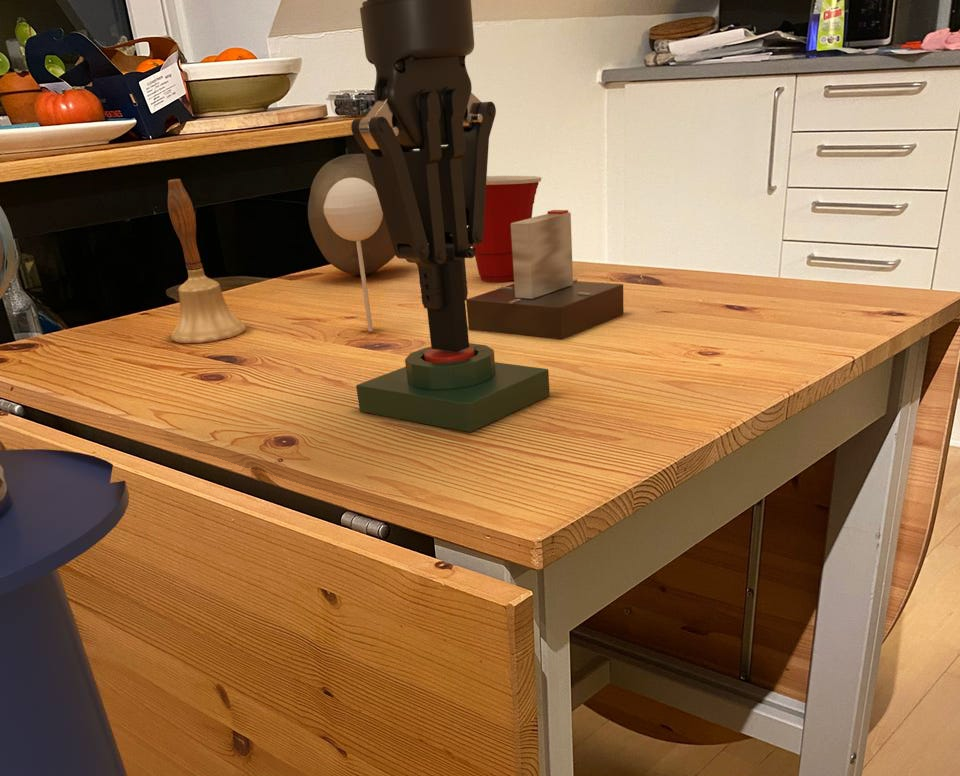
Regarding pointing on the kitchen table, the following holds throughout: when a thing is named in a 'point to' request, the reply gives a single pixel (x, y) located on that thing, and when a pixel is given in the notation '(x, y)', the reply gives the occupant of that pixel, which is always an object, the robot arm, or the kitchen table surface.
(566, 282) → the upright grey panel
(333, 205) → the lollipop
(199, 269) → the hand bell
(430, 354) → the bell button
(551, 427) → the kitchen table surface
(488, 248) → the plastic cup
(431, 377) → the button box
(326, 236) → the brown ovoid
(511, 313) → the plate
